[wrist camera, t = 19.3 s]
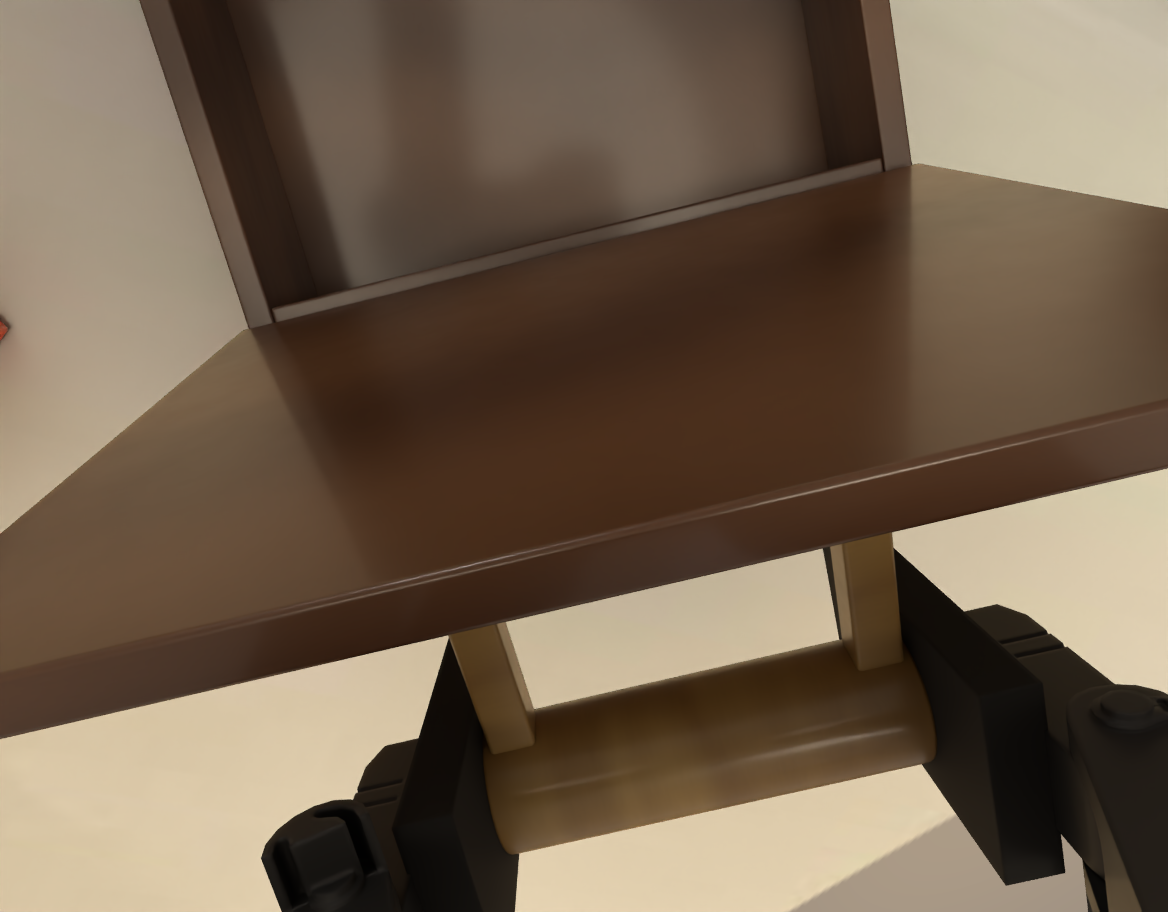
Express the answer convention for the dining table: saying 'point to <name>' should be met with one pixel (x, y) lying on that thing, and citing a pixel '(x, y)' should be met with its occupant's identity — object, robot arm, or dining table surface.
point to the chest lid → (611, 479)
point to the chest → (506, 126)
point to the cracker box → (2, 330)
